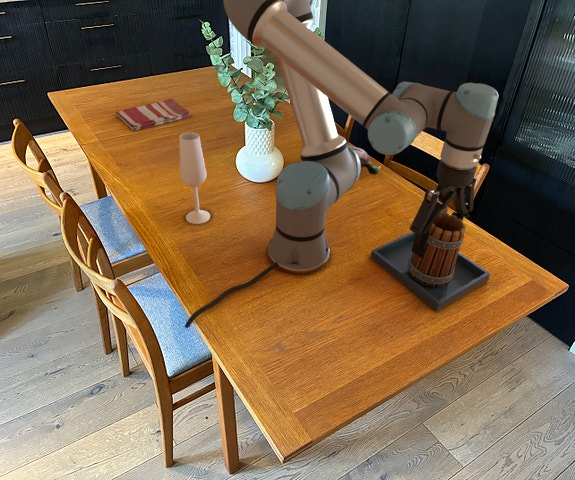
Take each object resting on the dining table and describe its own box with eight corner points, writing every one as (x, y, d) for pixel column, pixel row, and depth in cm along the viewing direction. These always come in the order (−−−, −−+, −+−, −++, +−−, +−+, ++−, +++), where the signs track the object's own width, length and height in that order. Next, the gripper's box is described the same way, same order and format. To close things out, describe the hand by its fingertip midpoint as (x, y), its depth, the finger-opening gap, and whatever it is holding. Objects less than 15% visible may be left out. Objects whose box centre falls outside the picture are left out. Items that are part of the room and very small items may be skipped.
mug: (452, 292, 107) (474, 240, 98) (406, 283, 108) (423, 231, 99) (447, 251, 120) (466, 202, 111) (406, 244, 121) (421, 194, 112)
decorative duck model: (388, 160, 144) (350, 170, 137) (382, 180, 149) (345, 191, 142) (359, 137, 153) (322, 145, 146) (354, 156, 158) (318, 165, 151)
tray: (436, 311, 103) (439, 303, 102) (370, 257, 117) (371, 250, 115) (487, 280, 111) (490, 273, 110) (420, 234, 125) (422, 227, 124)
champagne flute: (186, 210, 131) (176, 130, 116) (210, 209, 131) (203, 130, 116) (184, 224, 125) (174, 142, 111) (209, 223, 126) (202, 142, 111)
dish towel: (191, 116, 180) (191, 110, 178) (133, 131, 168) (132, 124, 167) (171, 102, 190) (170, 96, 188) (115, 115, 178) (114, 109, 177)
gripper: (433, 185, 88) (411, 272, 102) (508, 155, 99) (479, 237, 112) (405, 169, 93) (386, 253, 106) (479, 141, 104) (454, 221, 117)
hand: (434, 245), depth 109 cm, fingers closed on mug, 11 cm apart
